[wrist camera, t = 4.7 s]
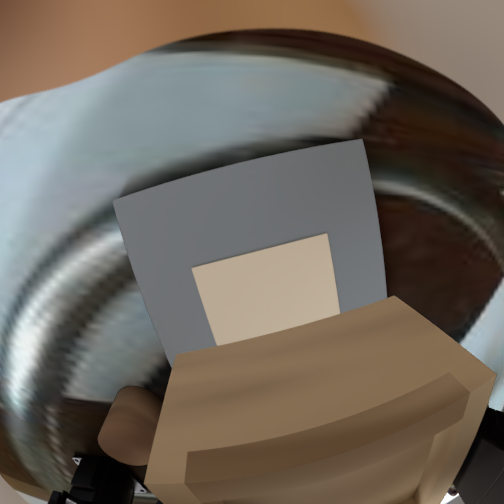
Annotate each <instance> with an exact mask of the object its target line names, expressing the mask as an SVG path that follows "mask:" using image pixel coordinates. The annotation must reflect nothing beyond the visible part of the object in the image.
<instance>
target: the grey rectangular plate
mask: <svg viewBox="0 0 504 504" xmlns="http://www.w3.org/2000/svg"><path fill="white" fill-rule="evenodd" d="M112 202H113V205H114V209H115V213H116V216H117V220H118V224H119V227H120V230H121V234H122V237H123V240H124V244H125V247H126V250H127V253H128V256H129V260H130V263H131V266H132V269H133V272H134V275H135V277H136V280H137V283H138V286H139V289H140V292H141V294H142V297H143V300H144V302H145V305H146V308H147V310H148V313H149V316H150V318H151V321H152V323H153V326H154V328H155V331H156V333H157V335H158V338H159V340H160V343H161V345H162V347H163V350H164V352H165V354H166V357H167V359H168V361H169V363H170V366H171V368H173V364H174V360H175V357H176V354H180V353H185V352H190V351H195V350H200V349H205V348H210V347H215V346H219V345H224V344H228V343H233V342H237V341H241V340H246V339H250V338H254V337H258V336H262V335H266V334H270V333H274V332H278V331H282V330H285V329H289V328H293V327H296V326H300V325H304V324H307V323H311V322H314V321H317V320H321V319H324V318H328V317H331V316H334V315H337V314H341V313H344V312H347V311H350V310H353V309H357V308H360V307H363V306H366V305H369V304H372V303H375V302H378V301H380V300H383V299H386V298H387V291H386V279H385V269H384V259H383V250H382V242H381V235H380V228H379V221H378V214H377V208H376V202H375V197H374V191H373V186H372V181H371V176H370V171H369V166H368V161H367V157H366V152H365V148H364V144H363V140H362V139H358V140H352V141H345V142H339V143H333V144H327V145H321V146H316V147H310V148H305V149H300V150H295V151H290V152H285V153H280V154H276V155H271V156H267V157H262V158H258V159H253V160H249V161H245V162H241V163H237V164H233V165H229V166H225V167H221V168H217V169H213V170H209V171H206V172H202V173H198V174H195V175H191V176H188V177H184V178H181V179H177V180H174V181H171V182H167V183H164V184H161V185H158V186H154V187H151V188H148V189H145V190H142V191H139V192H136V193H133V194H130V195H127V196H124V197H121V198H118V199H115V200H113V201H112Z"/></svg>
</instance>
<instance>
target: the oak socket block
mask: <svg viewBox="0 0 504 504" xmlns="http://www.w3.org/2000/svg"><path fill="white" fill-rule="evenodd" d="M496 376H497V374H496V373H494V372H493V371H492V370H491V369H490V368H488V367H487V366H486V365H485V364H483V363H482V362H481V361H480V360H479V359H477V358H476V357H475V356H474V355H472V354H471V353H470V352H468V351H467V350H466V349H465V348H463V347H462V346H461V345H460V344H458V343H457V342H456V341H454V340H453V339H452V338H451V337H449V336H448V335H447V334H445V333H444V332H443V331H441V330H440V329H439V328H438V327H436V326H435V325H434V324H432V323H431V322H430V321H428V320H427V319H426V318H424V317H423V316H422V315H420V314H419V313H418V312H416V311H415V310H414V309H412V308H411V307H409V306H408V305H407V304H405V303H404V302H403V301H401V300H400V299H399V298H397V297H396V296H392V297H389V298H386V299H383V300H380V301H378V302H375V303H372V304H369V305H366V306H363V307H360V308H357V309H353V310H350V311H347V312H344V313H341V314H337V315H334V316H331V317H328V318H324V319H321V320H317V321H314V322H311V323H307V324H304V325H300V326H296V327H293V328H289V329H285V330H282V331H278V332H274V333H270V334H266V335H262V336H258V337H254V338H250V339H246V340H241V341H237V342H233V343H228V344H224V345H219V346H215V347H210V348H205V349H200V350H195V351H190V352H185V353H180V354H176V357H175V360H174V364H173V368H172V371H171V375H170V379H169V382H168V386H167V390H166V394H165V397H164V401H163V405H162V409H161V413H160V417H159V421H158V425H157V429H156V433H155V437H154V441H153V445H152V450H151V454H150V458H149V463H148V467H147V471H146V476H145V481H144V484H145V486H146V487H147V488H148V489H149V490H150V491H151V492H152V493H153V494H154V495H155V496H156V497H157V498H158V499H159V500H160V501H161V502H162V503H163V504H440V503H441V501H442V500H443V498H444V496H445V495H446V493H447V491H448V490H449V488H450V486H451V484H452V483H453V481H454V479H455V477H456V475H457V473H458V471H459V470H460V468H461V466H462V464H463V462H464V460H465V458H466V456H467V453H468V451H469V449H470V447H471V445H472V442H473V440H474V438H475V436H476V433H477V431H478V428H479V426H480V423H481V421H482V418H483V415H484V413H485V410H486V407H487V404H488V401H489V398H490V395H491V392H492V389H493V386H494V383H495V379H496Z"/></svg>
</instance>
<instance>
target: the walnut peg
mask: <svg viewBox="0 0 504 504" xmlns="http://www.w3.org/2000/svg"><path fill="white" fill-rule="evenodd" d="M162 405H163V404H162V402H161V400H160V399H159V398H158V397H157V396H156V395H155V394H154V393H152V392H151V391H149V390H147V389H145V388H142V387H138V386H127V387H124V388H122V389H120V390H119V391H118V393H117V395H116V397H115V399H114V402H113V404H112V406H111V408H110V410H109V413H108V415H107V417H106V419H105V422H104V424H103V426H102V428H101V431H100V433H99V435H98V443H99V445H100V447H101V448H102V450H103V451H104V452H105V453H106V454H108V455H109V456H110V457H112V458H114V459H115V460H117V461H120V462H122V463H125V464H129V465H135V466H141V465H146V464H148V463H149V458H150V454H151V450H152V445H153V441H154V437H155V433H156V429H157V425H158V421H159V417H160V413H161V409H162Z"/></svg>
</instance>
